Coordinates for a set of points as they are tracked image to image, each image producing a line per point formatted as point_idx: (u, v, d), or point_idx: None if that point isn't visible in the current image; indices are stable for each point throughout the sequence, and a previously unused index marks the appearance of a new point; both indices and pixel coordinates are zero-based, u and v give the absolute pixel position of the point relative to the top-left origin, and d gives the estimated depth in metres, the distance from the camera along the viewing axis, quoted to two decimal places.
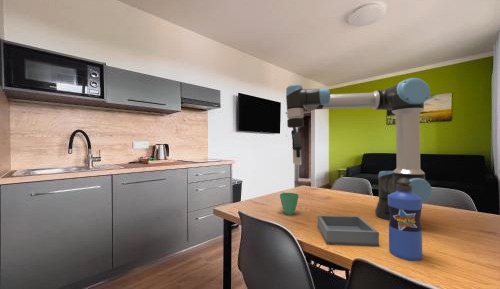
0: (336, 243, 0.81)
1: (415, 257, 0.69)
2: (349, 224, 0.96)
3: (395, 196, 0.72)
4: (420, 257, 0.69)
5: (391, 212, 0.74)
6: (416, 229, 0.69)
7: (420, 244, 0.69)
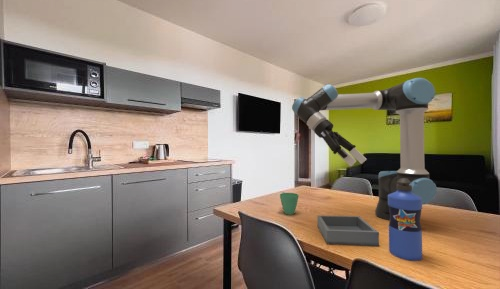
0: (336, 243, 0.81)
1: (415, 257, 0.69)
2: (349, 224, 0.96)
3: (395, 196, 0.72)
4: (420, 257, 0.69)
5: (391, 212, 0.74)
6: (416, 229, 0.69)
7: (420, 244, 0.69)
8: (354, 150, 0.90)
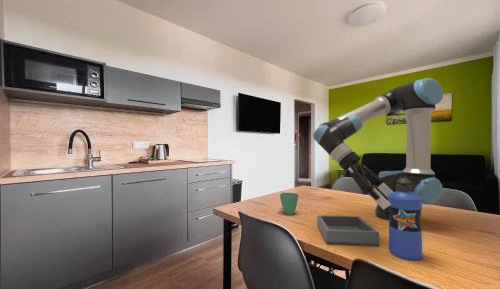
0: (336, 243, 0.81)
1: (415, 257, 0.69)
2: (349, 224, 0.96)
3: (395, 196, 0.72)
4: (420, 257, 0.69)
5: (391, 212, 0.74)
6: (416, 229, 0.69)
7: (420, 244, 0.69)
8: (383, 185, 0.82)
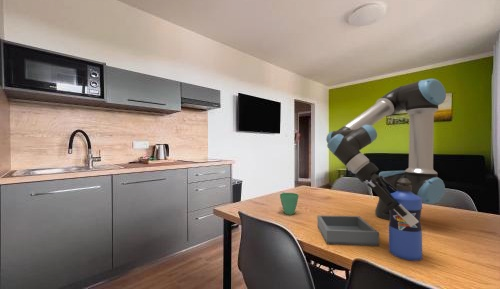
0: (336, 243, 0.81)
1: (415, 257, 0.69)
2: (349, 224, 0.96)
3: (395, 196, 0.72)
4: (420, 257, 0.69)
5: (391, 212, 0.74)
6: (416, 229, 0.69)
7: (420, 244, 0.69)
8: None
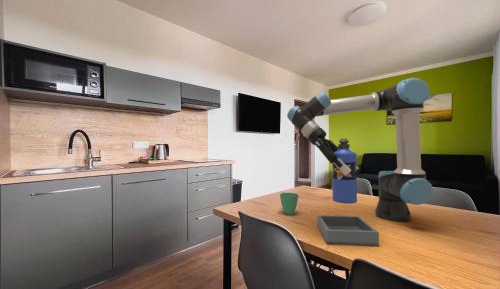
0: (336, 243, 0.81)
1: (349, 200, 0.84)
2: (349, 224, 0.96)
3: (335, 152, 0.88)
4: (354, 201, 0.85)
5: (333, 166, 0.89)
6: (351, 177, 0.85)
7: (354, 190, 0.85)
8: None
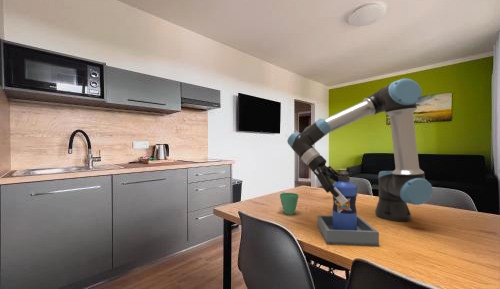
0: (336, 243, 0.81)
1: None
2: None
3: (335, 185, 0.88)
4: None
5: (333, 198, 0.89)
6: (351, 211, 0.85)
7: (354, 224, 0.85)
8: None
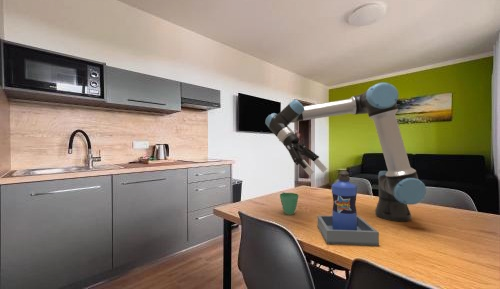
0: (336, 243, 0.81)
1: None
2: None
3: (335, 185, 0.88)
4: None
5: (333, 198, 0.89)
6: (351, 211, 0.85)
7: (354, 224, 0.85)
8: (317, 160, 1.03)
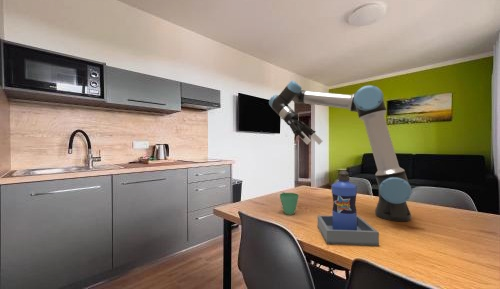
0: (336, 243, 0.81)
1: None
2: None
3: (335, 185, 0.88)
4: None
5: (333, 198, 0.89)
6: (351, 211, 0.85)
7: (354, 224, 0.85)
8: (314, 134, 1.20)
